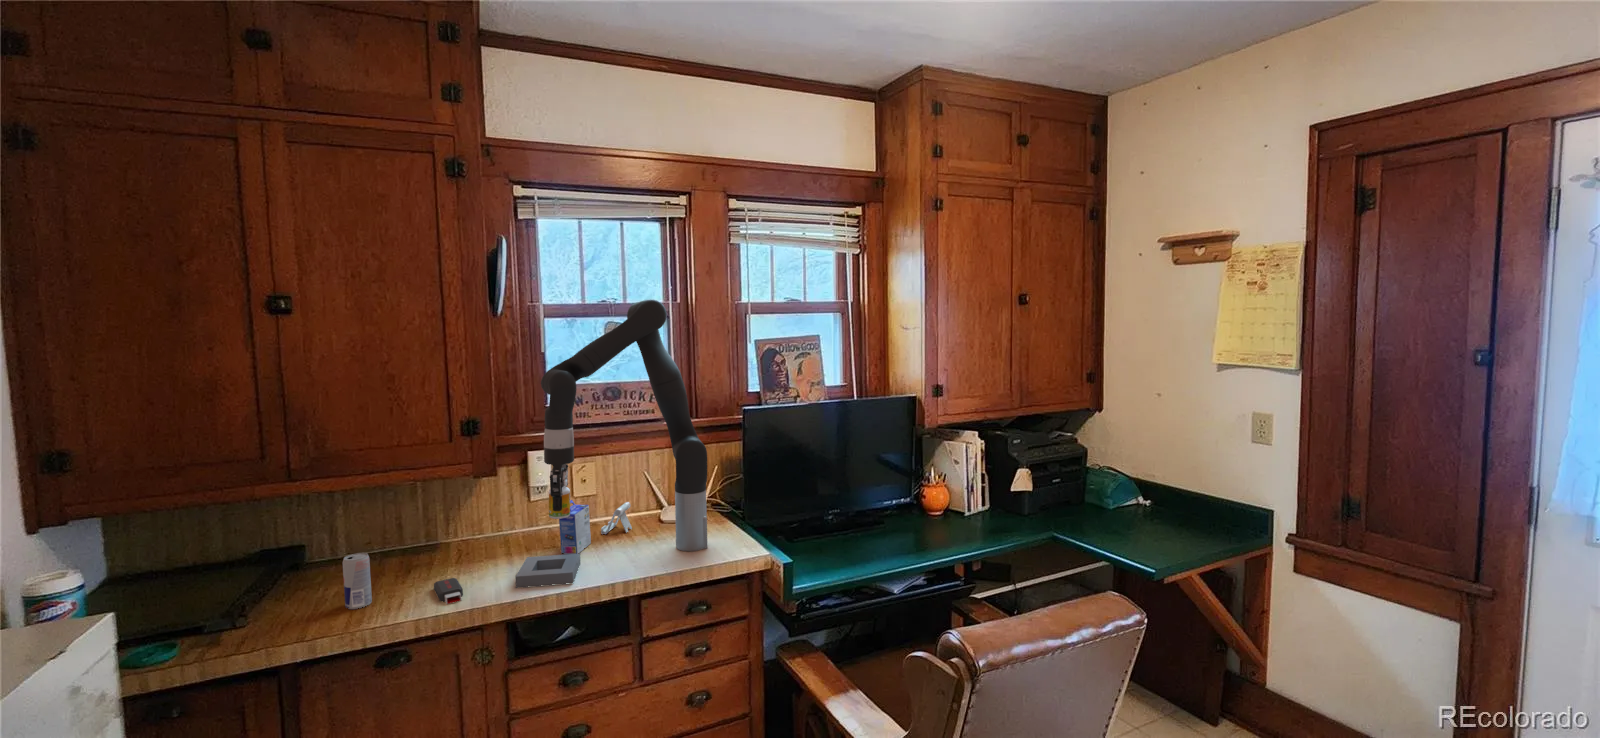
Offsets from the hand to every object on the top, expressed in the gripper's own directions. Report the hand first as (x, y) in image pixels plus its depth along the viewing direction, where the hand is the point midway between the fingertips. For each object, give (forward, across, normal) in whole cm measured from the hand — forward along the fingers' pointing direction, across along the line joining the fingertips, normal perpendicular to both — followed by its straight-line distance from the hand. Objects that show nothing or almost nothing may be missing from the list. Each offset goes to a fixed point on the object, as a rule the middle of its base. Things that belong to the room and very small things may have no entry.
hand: (559, 507), depth 177 cm
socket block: (+18, -1, +3) cm, 19 cm away
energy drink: (+20, -11, +45) cm, 50 cm away
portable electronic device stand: (+18, +34, -12) cm, 41 cm away
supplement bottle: (+3, 0, 0) cm, 3 cm away
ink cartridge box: (+18, +19, -1) cm, 27 cm away
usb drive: (+20, -8, +25) cm, 33 cm away
